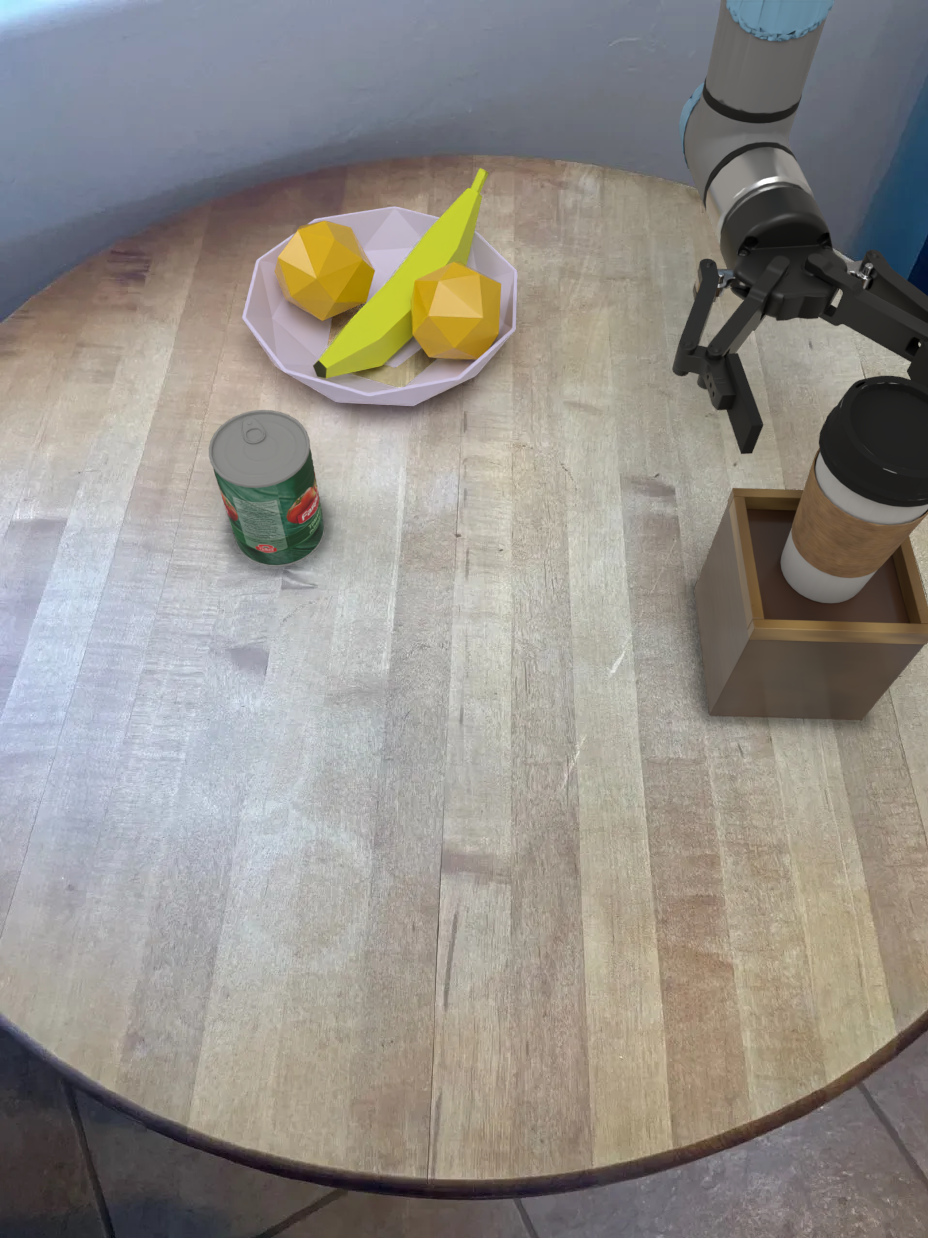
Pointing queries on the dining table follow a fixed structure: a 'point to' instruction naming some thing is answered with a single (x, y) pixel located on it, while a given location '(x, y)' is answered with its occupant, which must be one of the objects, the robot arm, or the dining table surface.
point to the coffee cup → (860, 489)
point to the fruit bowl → (384, 300)
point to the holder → (798, 623)
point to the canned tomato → (268, 486)
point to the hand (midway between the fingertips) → (854, 433)
